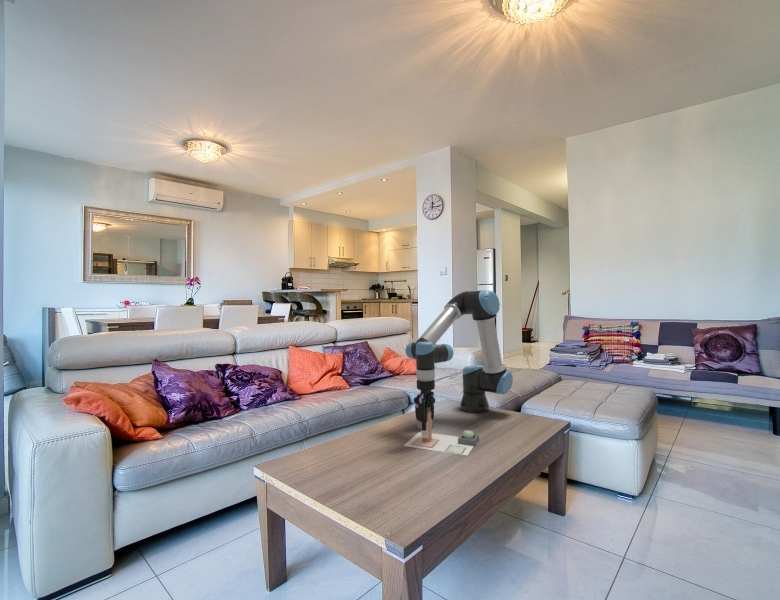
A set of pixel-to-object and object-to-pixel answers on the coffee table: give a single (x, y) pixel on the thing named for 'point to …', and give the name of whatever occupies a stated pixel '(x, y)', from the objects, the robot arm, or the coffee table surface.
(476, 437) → the button housing
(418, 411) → the coffee cup
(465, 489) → the coffee table surface
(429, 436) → the marker
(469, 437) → the button
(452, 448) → the sheet
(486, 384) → the robot arm
